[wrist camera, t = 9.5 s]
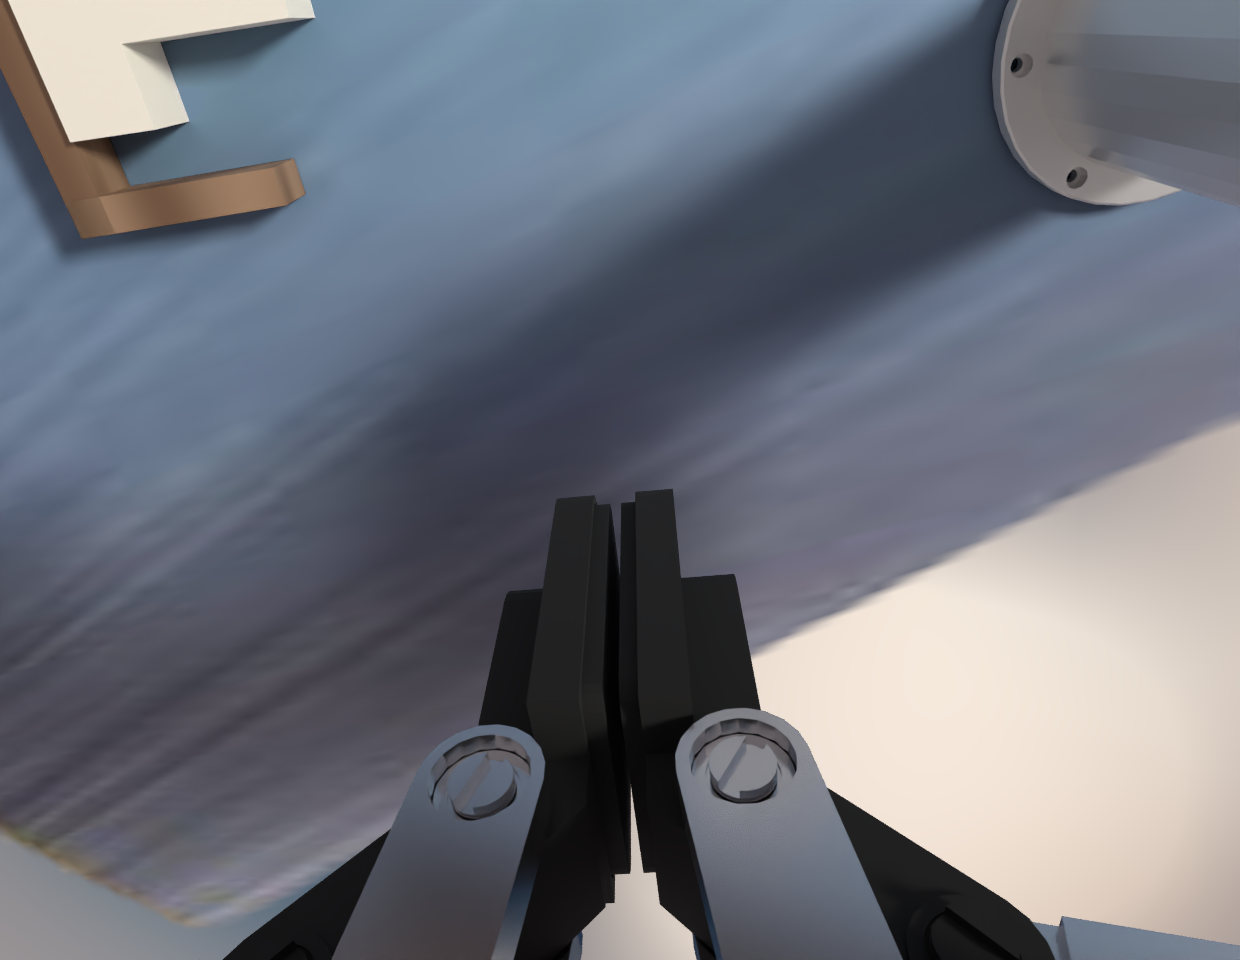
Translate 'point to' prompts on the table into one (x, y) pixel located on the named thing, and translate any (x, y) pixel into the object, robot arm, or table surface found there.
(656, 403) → the table surface
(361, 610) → the table surface
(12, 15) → the brown u-shaped bracket
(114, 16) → the t block
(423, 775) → the robot arm
